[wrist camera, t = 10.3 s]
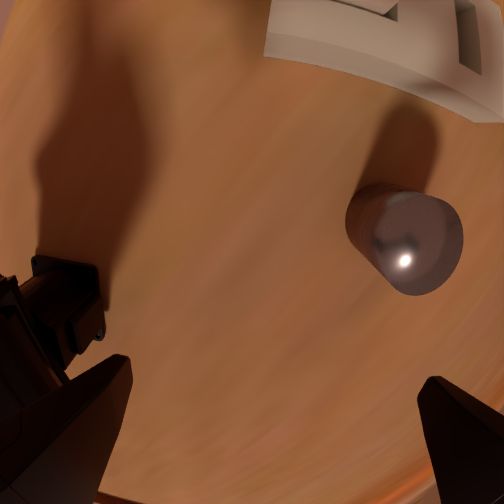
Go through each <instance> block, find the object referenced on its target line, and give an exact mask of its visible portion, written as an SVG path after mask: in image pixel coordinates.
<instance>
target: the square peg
mask: <svg viewBox="0 0 504 504" xmlns="http://www.w3.org/2000/svg"><path fill="white" fill-rule="evenodd" d="M330 1H334V2H337V3H341V4H345V5H348V6H352V7H355V8H358V9H362V10H365V11H368V12H371V13H374V14H377V15H379V16H383V15H384V14H385V13H386V12H387V11H389V10H390V9H391V8H392V7H393V6H394V5H395V4H396V3H397V2H399V1H400V0H330Z"/></svg>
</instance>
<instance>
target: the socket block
mask: <svg viewBox="0 0 504 504" xmlns="http://www.w3.org/2000/svg"><path fill="white" fill-rule="evenodd" d="M264 56H266V57H273V58H279V59H286V60H291V61H297V62H302V63H307V64H312V65H317V66H321V67H326V68H330V69H334V70H338V71H342V72H346V73H350V74H353V75H357V76H360V77H364V78H367V79H370V80H373V81H377V82H380V83H383V84H386V85H389V86H392V87H394V88H397V89H400V90H403V91H405V92H408V93H411V94H413V95H416V96H418V97H421V98H423V99H426V100H428V101H430V102H433V103H435V104H437V105H439V106H442V107H444V108H446V109H448V110H450V111H452V112H455V113H457V114H459V115H461V116H463V117H465V118H467V119H469V120H471V121H472V122H474V123H476V122H504V26H503V21H502V16H501V11H500V7H499V6H498V5H496V4H495V3H494V2H493V1H491V0H400V1H399V2H397V3H396V4H395V5H394V6H393V7H392V8H391V9H390V10H389V11H387V12H386V13H385V14H384V15H383V16H379V15H377V14H374V13H371V12H368V11H365V10H362V9H358V8H355V7H352V6H348V5H345V4H341V3H337V2H334V1H330V0H272V2H271V8H270V14H269V21H268V27H267V33H266V41H265V49H264Z"/></svg>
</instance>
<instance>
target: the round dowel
mask: <svg viewBox="0 0 504 504" xmlns="http://www.w3.org/2000/svg"><path fill="white" fill-rule="evenodd" d="M345 226H346V232H347V235H348V238H349V239H350V241H351V243H352V244H353V246H354V247H355V248H356V249H357V250H358V251H359V252H360V253H361V254H362V255H363V256H364V257H365V258H366V259H367V260H368V261H369V262H370V263H371V264H372V265H373V266H374V267H375V268H376V269H377V270H378V271H379V272H380V273H381V274H382V275H383V276H384V277H385V278H386V279H387V280H388V282H389V283H390V284H391V285H392V286H393V287H394V288H395V289H397V290H398V291H399V292H401V293H403V294H406V295H412V296H418V295H424V294H427V293H429V292H432V291H433V290H435V289H437V288H438V287H440V286H441V285H442V284H443V283H444V282H445V281H446V280H447V279H448V278H449V277H450V275H451V274H452V273H453V271H454V269H455V268H456V266H457V264H458V262H459V259H460V256H461V252H462V247H463V229H462V224H461V221H460V218H459V216H458V214H457V213H456V211H455V210H454V209H453V207H452V206H451V205H449V204H448V203H447V202H445V201H443V200H441V199H438V198H435V197H432V196H429V195H426V194H423V193H420V192H416V191H413V190H410V189H407V188H403V187H400V186H396V185H393V184H389V183H385V182H377V183H372V184H369V185H367V186H365V187H363V188H362V189H361V190H359V191H358V192H357V193H356V194H355V196H354V197H353V198H352V200H351V202H350V203H349V206H348V208H347V212H346V217H345Z"/></svg>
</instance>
